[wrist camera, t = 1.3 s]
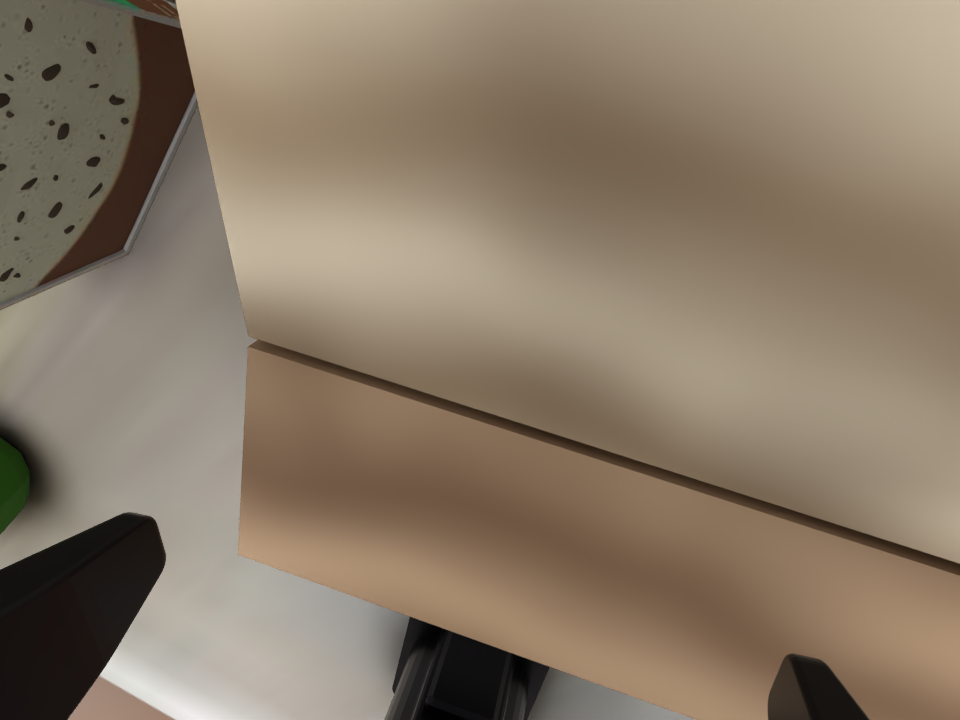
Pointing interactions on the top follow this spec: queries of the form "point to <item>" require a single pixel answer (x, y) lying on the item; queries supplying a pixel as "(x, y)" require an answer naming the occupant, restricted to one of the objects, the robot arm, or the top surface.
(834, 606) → the floor platform
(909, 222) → the pale plank
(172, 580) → the top surface
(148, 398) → the top surface
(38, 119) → the food container
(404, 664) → the robot arm
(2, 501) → the bell pepper
